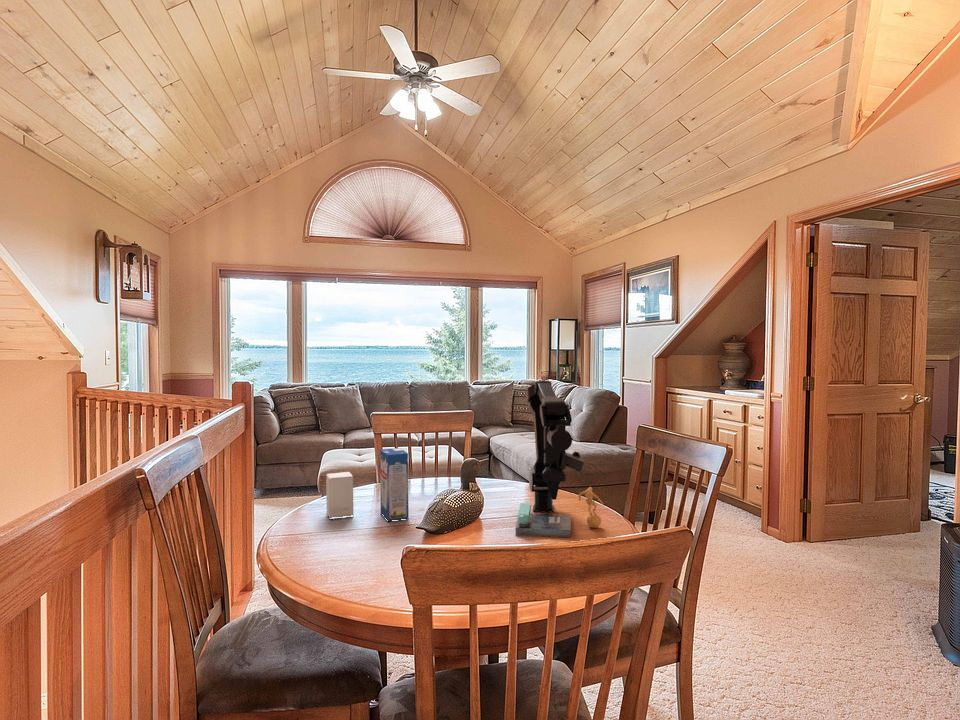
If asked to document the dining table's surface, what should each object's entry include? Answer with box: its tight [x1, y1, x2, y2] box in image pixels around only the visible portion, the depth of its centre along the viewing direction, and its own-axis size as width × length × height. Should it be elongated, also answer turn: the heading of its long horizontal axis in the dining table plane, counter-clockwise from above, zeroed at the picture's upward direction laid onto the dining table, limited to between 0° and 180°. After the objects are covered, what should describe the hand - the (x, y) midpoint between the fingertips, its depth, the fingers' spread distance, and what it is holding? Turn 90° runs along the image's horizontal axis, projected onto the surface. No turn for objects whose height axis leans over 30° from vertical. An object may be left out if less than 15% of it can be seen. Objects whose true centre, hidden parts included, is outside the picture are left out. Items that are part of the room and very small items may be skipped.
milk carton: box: [379, 447, 409, 521], centre depth 165 cm, size 10×6×20 cm, turn 23°
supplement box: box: [325, 471, 354, 519], centre depth 166 cm, size 7×7×13 cm
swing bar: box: [517, 502, 532, 524], centre depth 154 cm, size 13×3×2 cm, turn 172°
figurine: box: [578, 486, 605, 529], centre depth 153 cm, size 8×6×12 cm
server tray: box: [515, 512, 572, 538], centre depth 154 cm, size 14×15×3 cm
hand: (554, 499), depth 154 cm, fingers closed
